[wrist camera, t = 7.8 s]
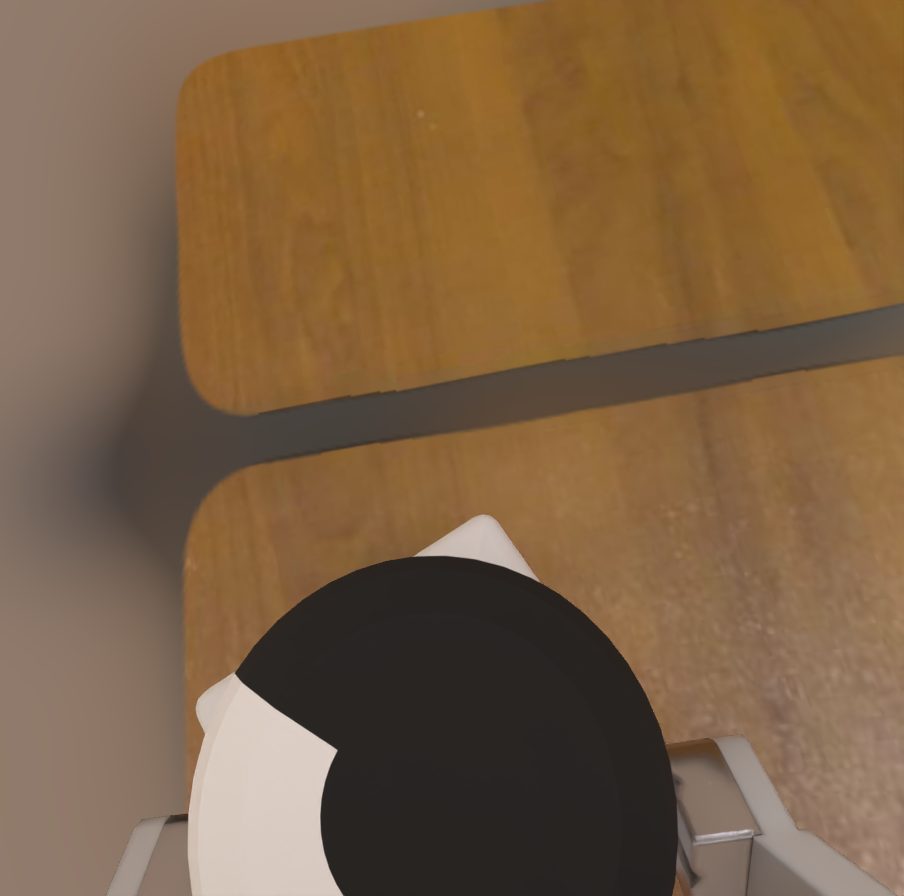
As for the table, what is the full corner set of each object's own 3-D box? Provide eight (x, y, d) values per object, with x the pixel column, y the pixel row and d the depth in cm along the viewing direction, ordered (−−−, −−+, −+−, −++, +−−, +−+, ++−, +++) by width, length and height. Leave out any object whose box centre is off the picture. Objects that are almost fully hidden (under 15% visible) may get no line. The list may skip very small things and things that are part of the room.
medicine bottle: (476, 563, 20) (508, 409, 9) (616, 771, 18) (894, 919, 7) (279, 694, 19) (14, 710, 7) (405, 937, 16) (303, 1482, 5)
